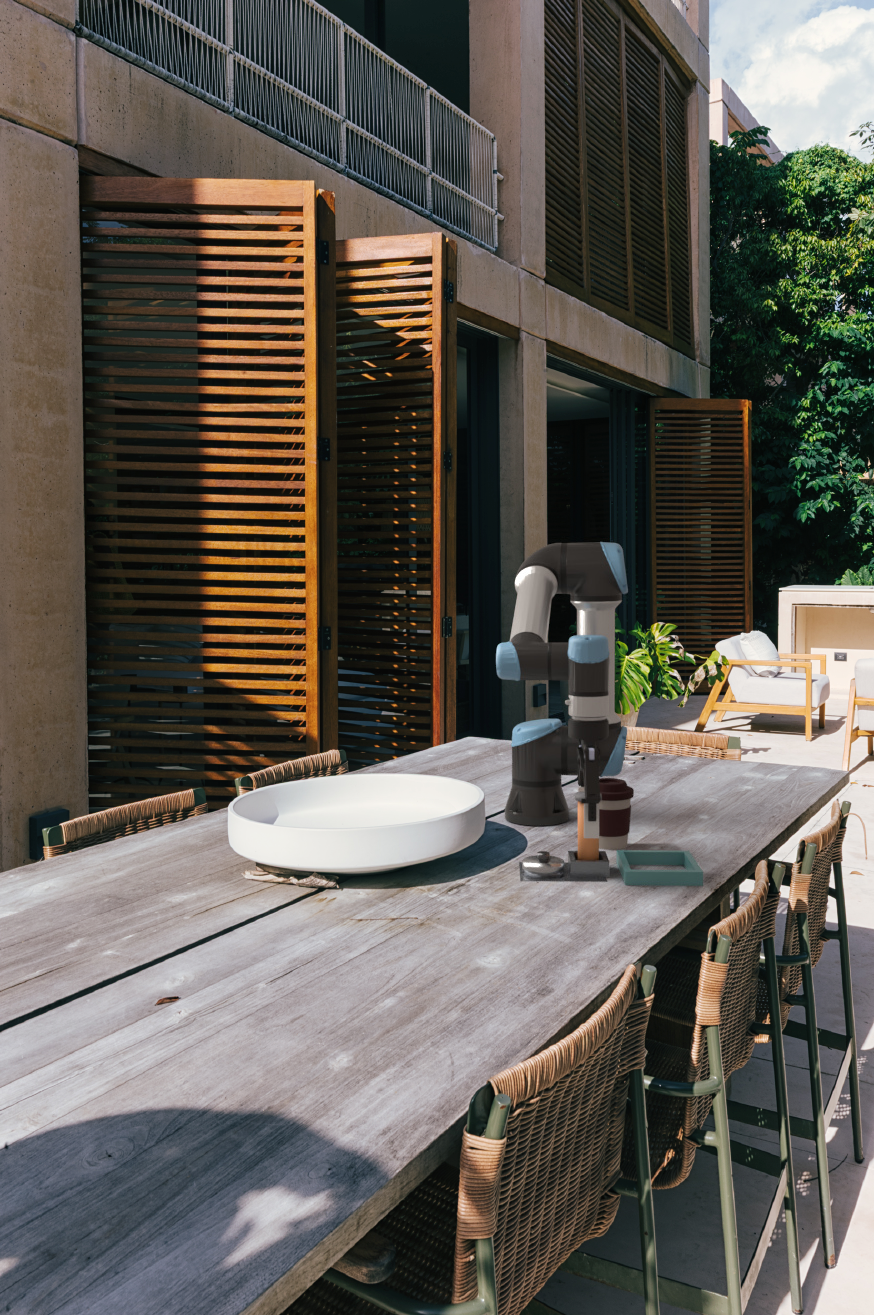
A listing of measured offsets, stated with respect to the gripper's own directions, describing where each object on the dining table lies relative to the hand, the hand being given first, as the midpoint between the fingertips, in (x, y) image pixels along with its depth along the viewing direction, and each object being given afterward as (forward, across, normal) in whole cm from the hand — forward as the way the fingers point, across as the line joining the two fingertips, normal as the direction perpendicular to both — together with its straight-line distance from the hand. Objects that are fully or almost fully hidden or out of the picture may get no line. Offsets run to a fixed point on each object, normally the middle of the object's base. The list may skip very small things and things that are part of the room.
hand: (588, 828), depth 193 cm
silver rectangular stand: (+10, 0, -5) cm, 11 cm away
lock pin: (+8, 0, 0) cm, 8 cm away
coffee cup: (+10, -19, +6) cm, 23 cm away
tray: (+10, +1, +13) cm, 16 cm away
